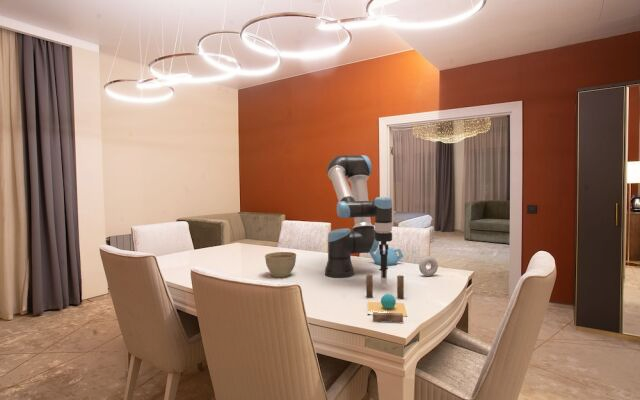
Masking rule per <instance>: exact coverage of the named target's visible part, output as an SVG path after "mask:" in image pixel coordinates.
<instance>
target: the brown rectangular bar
mask: <svg viewBox="0 0 640 400" xmlns="http://www.w3.org/2000/svg"><path fill="white" fill-rule="evenodd" d="M373 321H392V322H391V323H398V322H403V323H404V316H403V314H402V313H378V312H373V315H372V322H373Z"/></svg>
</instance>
